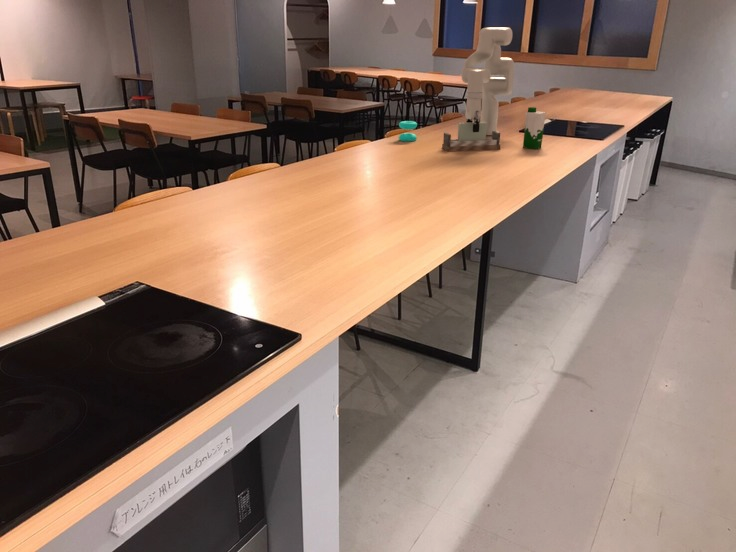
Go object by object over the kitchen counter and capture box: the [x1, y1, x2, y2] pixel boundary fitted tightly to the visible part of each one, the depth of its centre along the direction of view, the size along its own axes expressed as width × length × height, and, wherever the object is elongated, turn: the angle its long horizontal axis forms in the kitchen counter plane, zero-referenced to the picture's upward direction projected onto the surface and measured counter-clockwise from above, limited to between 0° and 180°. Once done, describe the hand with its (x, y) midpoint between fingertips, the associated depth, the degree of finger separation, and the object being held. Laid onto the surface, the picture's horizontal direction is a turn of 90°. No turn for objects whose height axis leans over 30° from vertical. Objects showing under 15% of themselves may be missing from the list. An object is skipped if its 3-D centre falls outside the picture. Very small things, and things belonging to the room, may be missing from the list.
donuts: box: [398, 120, 418, 142], centre depth 321 cm, size 10×10×10 cm
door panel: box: [457, 121, 487, 141], centre depth 297 cm, size 14×3×11 cm, turn 101°
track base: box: [441, 130, 501, 152], centre depth 298 cm, size 28×10×8 cm, turn 101°
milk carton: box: [522, 106, 547, 150], centre depth 298 cm, size 9×9×20 cm
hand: (472, 130), depth 297 cm, fingers open, 9 cm apart
